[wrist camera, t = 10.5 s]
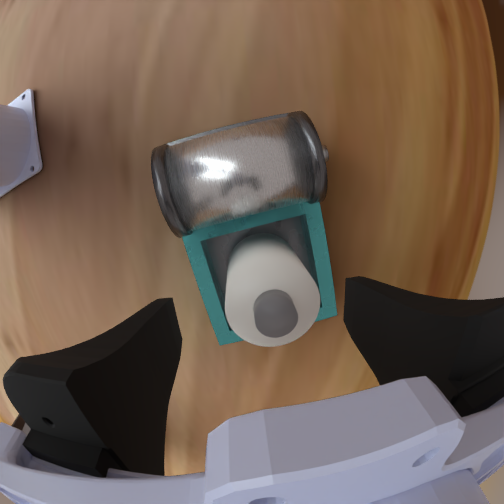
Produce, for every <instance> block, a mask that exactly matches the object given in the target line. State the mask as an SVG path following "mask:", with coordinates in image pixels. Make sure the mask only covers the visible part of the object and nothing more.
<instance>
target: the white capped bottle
mask: <svg viewBox="0 0 504 504" xmlns="http://www.w3.org/2000/svg"><path fill="white" fill-rule="evenodd" d="M319 308H320V294H319V290H318V287H317V285H316V283H315V281H314V280H313V278H312V277H311V275H310V274H309V272H308V271H307V269H306V268H305V267H304V265H303V264H302V262H301V261H300V259H299V258H298V256H297V255H296V253H295V252H294V251H293V249H292V248H291V246H290V245H289V244H288V243H287V242H286V241H285V240H283V239H282V238H280V237H278V236H276V235H273V234H268V233H258V234H254V235H251V236H248V237H246V238H244V239H243V240H241V241H240V242H239V243H238V244H237V245H236V246H235V247H234V249H233V250H232V252H231V254H230V257H229V260H228V269H227V282H226V296H225V314H226V318H227V321H228V323H229V325H230V327H231V328H232V330H233V331H234V332H235V333H236V334H237V335H238V336H239V337H240V338H242V339H243V340H245V341H247V342H249V343H252V344H254V345H258V346H265V347H273V346H280V345H284V344H287V343H290V342H292V341H294V340H296V339H298V338H299V337H301V336H302V335H304V334H305V333H306V332H307V331H308V330H309V329H310V327H311V326H312V325H313V323H314V322H315V320H316V318H317V315H318V312H319Z"/></svg>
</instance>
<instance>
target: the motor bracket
mask: <svg viewBox="0 0 504 504" xmlns="http://www.w3.org/2000/svg"><path fill="white" fill-rule="evenodd" d="M328 160H329V155H328V151H327V148H326V146H325V145H321V142H320V139H319V136H318V134H317V131H316V129H315V127H314V125H313V123H312V121H311V120H310V118H309V117H308V116H307V114H306V113H304V112H303V111H297V112H291V113H285V114H280V115H274V116H269V117H264V118H260V119H255V120H250V121H246V122H242V123H237V124H233V125H229V126H225V127H221V128H217V129H214V130H210V131H206V132H203V133H199V134H196V135H193V136H189V137H186V138H183V139H180V140H176V141H173V142H170V143H167V144H164V145H161V146H158V147H156V148H154V149H153V151H152V156H151V170H152V178H153V183H154V188H155V192H156V196H157V199H158V203H159V205H160V208H161V211H162V213H163V216H164V218H165V220H166V222H167V224H168V226H169V228H170V229H171V231H172V232H173V233H174V234H175V235H176V236H177V237H179V238H181V237H182V238H183V241H184V245H185V248H186V251H187V254H188V257H189V260H190V263H191V266H192V269H193V272H194V275H195V278H196V281H197V284H198V287H199V290H200V293H201V296H202V299H203V301H204V304H205V307H206V310H207V313H208V315H209V318H210V321H211V323H212V326H213V329H214V331H215V334H216V337H217V339H218V342H219V345H224V344H229V343H234V342H238V341H243V339H242V338H240V337H239V336H238V335H237V334H236V333H235V332H234V331H233V330H232V328H231V327H230V325H229V323H228V321H227V318H226V314H225V296H226V282H227V269H228V260H229V257H230V254H231V252H232V250H233V249H234V247H235V246H236V245H237V244H238V243H239V242H240V241H241V240H243V239H244V238H246V237H248V236H251V235H254V234H258V233H268V234H273V235H276V236H278V237H280V238H282V239H283V240H285V241H286V242H287V243H288V244H289V245H290V246H291V248H292V249H293V251H294V252H295V253H296V255H297V256H298V258H299V259H300V261H301V262H302V264H303V265H304V267H305V268H306V269H307V271H308V272H309V274H310V275H311V277H312V278H313V280H314V281H315V283H316V285H317V287H318V290H319V294H320V308H319V312H318V315H317V318H316V320H315V322H316V321H319V320H323V319H326V318H329V317H333V316H336V315H337V309H336V301H335V293H334V285H333V278H332V271H331V265H330V258H329V252H328V246H327V240H326V234H325V229H324V223H323V218H322V213H321V208H320V202H322V201H323V200H324V199H325V197H326V193H327V170H326V163H325V162H327V161H328Z"/></svg>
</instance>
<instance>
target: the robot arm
mask: <svg viewBox="0 0 504 504" xmlns="http://www.w3.org/2000/svg"><path fill="white" fill-rule="evenodd" d="M24 97H25V99H24ZM33 166H34V171H33ZM41 169H42V160H41V154H40V149H39V142H38V135H37V128H36V119H35V109H34V95H33V90H32V89H28V90H26V91H25V92H24V93H22V94H21V95H20V96H19V97H17V98H16V99H15V100H13V101H12V102H11V103H10V104H9V105H1V104H0V197H2V196H3V195H5V194H6V193H7V192H9V191H10V190H12V189H13V188H15V187H16V186H18V185H19V184H21V183H22V182H24V181H25V180H27V179H29V178H30V177H32V176H33V175H35V174H37V173H38V172H40V171H41ZM344 323H345V325H346V327H347V330H348V332H349V334H350V336H351V338H352V340H353V341H354V343H355V345H356V346H357V348H358V349H359V351H360V352H361V354H362V355H363V357H364V358H365V360H366V362H367V363H368V365H369V366H370V368H371V369H372V371H373V372H374V374H375V376H376V378H377V380H378V382H379V384H380V386H377V387H373V388H370V389H366V390H362V391H359V392H355V393H351V394H347V395H343V396H338V397H334V398H329V399H324V400H319V401H314V402H309V403H303V404H298V405H291V406H285V407H278V408H270V409H263V410H259V411H255V412H252V413H248V414H244V415H240V416H236V417H232V418H230V419H228V420H226V421H225V422H224V423H222V424H221V425H220V426H218V427H217V428H215V429H214V430H213V431H211V432H210V433H208V439H207V447H206V463H205V472H200V473H193V474H185V475H176V476H164V448H165V431H166V420H167V411H168V404H169V399H170V395H171V391H172V388H173V384H174V380H175V376H176V373H177V369H178V365H179V361H180V356H181V347H182V336H181V332H180V328H179V324H178V320H177V316H176V312H175V307H174V303H173V298H162V299H157V300H155V301H153V302H151V303H150V304H148V305H147V306H145V307H144V308H142V309H141V310H140V311H138V312H137V313H135V314H134V315H132V316H131V317H129V318H128V319H126V320H125V321H123V322H121V323H120V324H118V325H117V326H115V327H114V328H112V329H110V330H108V331H106V332H105V333H103V334H101V335H99V336H96V337H94V338H92V339H90V340H87V341H85V342H82V343H80V344H77V345H74V346H72V347H69V348H65V349H62V350H58V351H54V352H50V353H46V354H40V355H34V356H27V357H20V358H19V359H17V360H16V362H15V363H14V364H13V365H12V366H11V367H10V369H9V370H8V371H7V372H6V373H5V374H4V377H3V384H4V389H5V391H6V394H7V396H8V398H9V399H10V401H11V403H12V404H13V406H14V407H15V409H16V410H17V411H18V413H19V414H20V416H21V417H22V418H23V420H24V421H25V422H26V424H27V425H28V426H29V427H30V429H31V430H30V431H29V433H28V435H26V434H25V433H24V432H23V431H21V430H19V429H17V428H15V427H12V426H10V425H8V424H5V423H3V422H1V423H0V492H1V493H3V494H4V495H5V496H6V497H8V498H9V499H10V500H12V501H13V502H14V503H15V504H489V502H488V500H487V498H486V496H485V495H484V493H483V491H482V490H481V488H480V486H479V485H480V484H481V483H482V482H484V481H485V480H486V479H487V478H489V477H490V476H491V475H492V474H494V473H495V472H496V471H497V470H498V469H499V468H500V467H502V466H503V465H504V297H503V298H495V299H485V300H457V299H446V298H438V297H433V296H427V295H422V294H418V293H414V292H411V291H407V290H403V289H400V288H397V287H394V286H391V285H388V284H385V283H382V282H379V281H376V280H372V279H369V278H365V277H360V276H358V277H351V278H346V284H345V304H344Z"/></svg>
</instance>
